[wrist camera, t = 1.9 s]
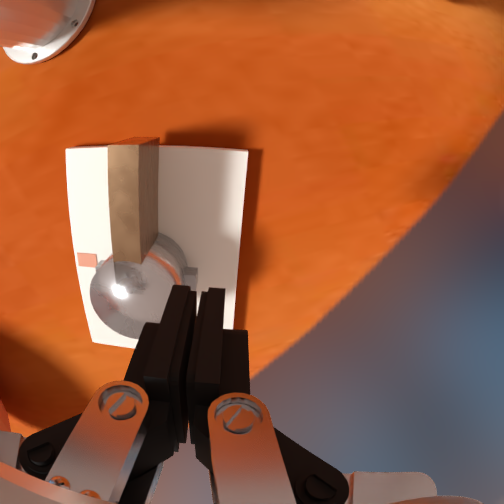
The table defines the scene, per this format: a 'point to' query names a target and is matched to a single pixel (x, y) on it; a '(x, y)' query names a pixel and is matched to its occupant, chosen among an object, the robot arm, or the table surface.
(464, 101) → the table surface
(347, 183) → the table surface
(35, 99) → the table surface
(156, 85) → the table surface
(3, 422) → the bowl
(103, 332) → the base
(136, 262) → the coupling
